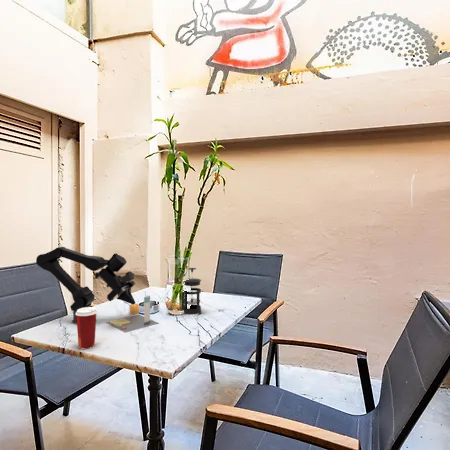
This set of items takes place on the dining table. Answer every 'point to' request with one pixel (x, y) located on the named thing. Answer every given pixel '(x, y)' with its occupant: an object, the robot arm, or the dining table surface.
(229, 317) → the dining table surface
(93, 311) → the paper cup
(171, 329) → the dining table surface
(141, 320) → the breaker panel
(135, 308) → the cap
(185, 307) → the french press
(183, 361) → the dining table surface
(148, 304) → the lever
